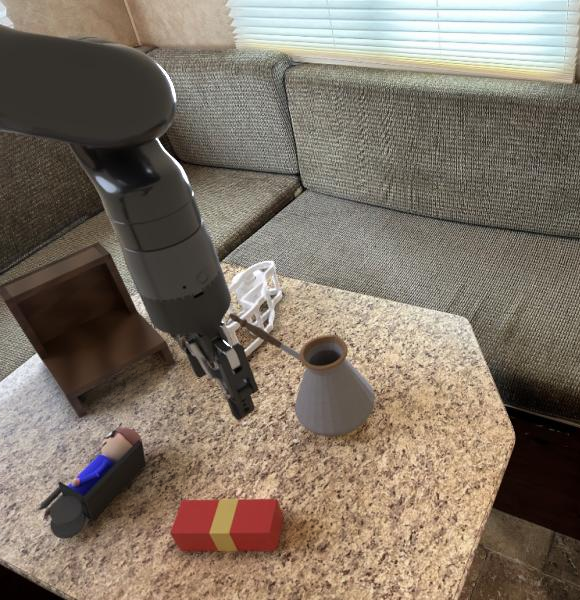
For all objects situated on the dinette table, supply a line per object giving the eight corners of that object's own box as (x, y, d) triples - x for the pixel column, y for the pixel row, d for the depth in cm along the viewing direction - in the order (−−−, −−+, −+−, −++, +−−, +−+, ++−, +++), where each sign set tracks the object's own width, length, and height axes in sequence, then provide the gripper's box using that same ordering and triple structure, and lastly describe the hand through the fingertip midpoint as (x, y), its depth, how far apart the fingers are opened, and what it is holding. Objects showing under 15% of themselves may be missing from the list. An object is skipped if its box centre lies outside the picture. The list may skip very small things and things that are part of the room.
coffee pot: (390, 398, 90) (379, 322, 80) (352, 457, 82) (336, 381, 73) (273, 361, 98) (251, 288, 89) (229, 412, 90) (199, 338, 81)
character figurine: (47, 534, 77) (135, 447, 87) (83, 555, 74) (171, 461, 84) (15, 498, 73) (112, 409, 83) (52, 518, 69) (149, 423, 79)
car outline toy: (259, 285, 114) (250, 254, 110) (305, 301, 110) (298, 268, 105) (181, 353, 102) (167, 320, 97) (230, 373, 97) (218, 340, 92)
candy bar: (180, 551, 74) (169, 533, 71) (191, 517, 77) (181, 499, 75) (276, 551, 73) (269, 533, 70) (284, 516, 76) (277, 497, 74)
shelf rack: (79, 418, 92) (26, 335, 81) (45, 366, 102) (-6, 287, 91) (175, 362, 100) (139, 280, 89) (135, 319, 110) (98, 241, 99)
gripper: (107, 259, 57) (163, 377, 68) (173, 327, 49) (226, 451, 59) (180, 226, 61) (222, 343, 71) (253, 284, 52) (290, 408, 62)
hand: (224, 392), depth 65 cm, fingers open, 8 cm apart
